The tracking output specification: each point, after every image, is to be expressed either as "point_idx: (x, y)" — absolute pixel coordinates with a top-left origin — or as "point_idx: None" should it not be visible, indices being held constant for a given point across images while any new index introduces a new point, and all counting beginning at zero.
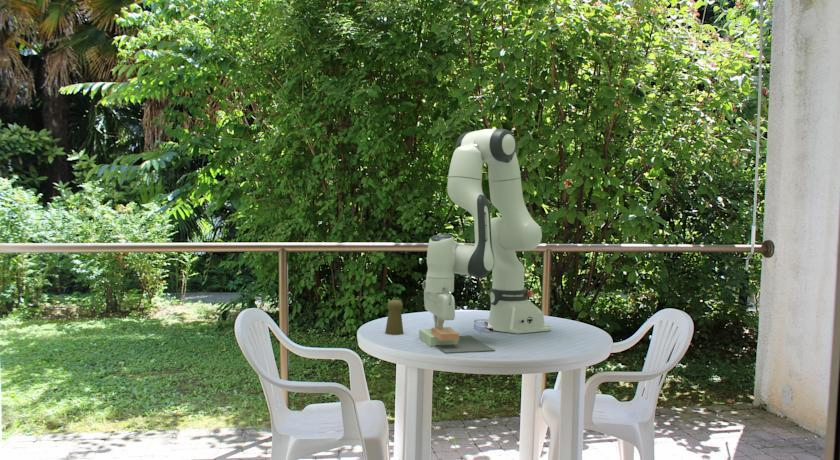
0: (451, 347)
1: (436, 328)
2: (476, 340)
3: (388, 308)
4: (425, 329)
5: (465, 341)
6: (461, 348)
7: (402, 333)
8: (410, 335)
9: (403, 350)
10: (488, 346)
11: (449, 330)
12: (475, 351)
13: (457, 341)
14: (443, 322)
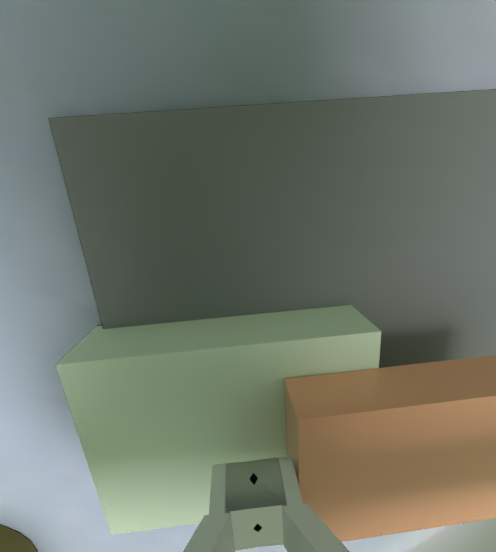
0: (422, 361)
1: (333, 520)
2: (255, 125)
3: None
4: (117, 502)
5: (280, 230)
6: (465, 313)
7: (5, 529)
8: (48, 497)
9: (383, 545)
10: (477, 96)
11: (429, 442)
12: None
13: (359, 316)
14: (330, 531)
